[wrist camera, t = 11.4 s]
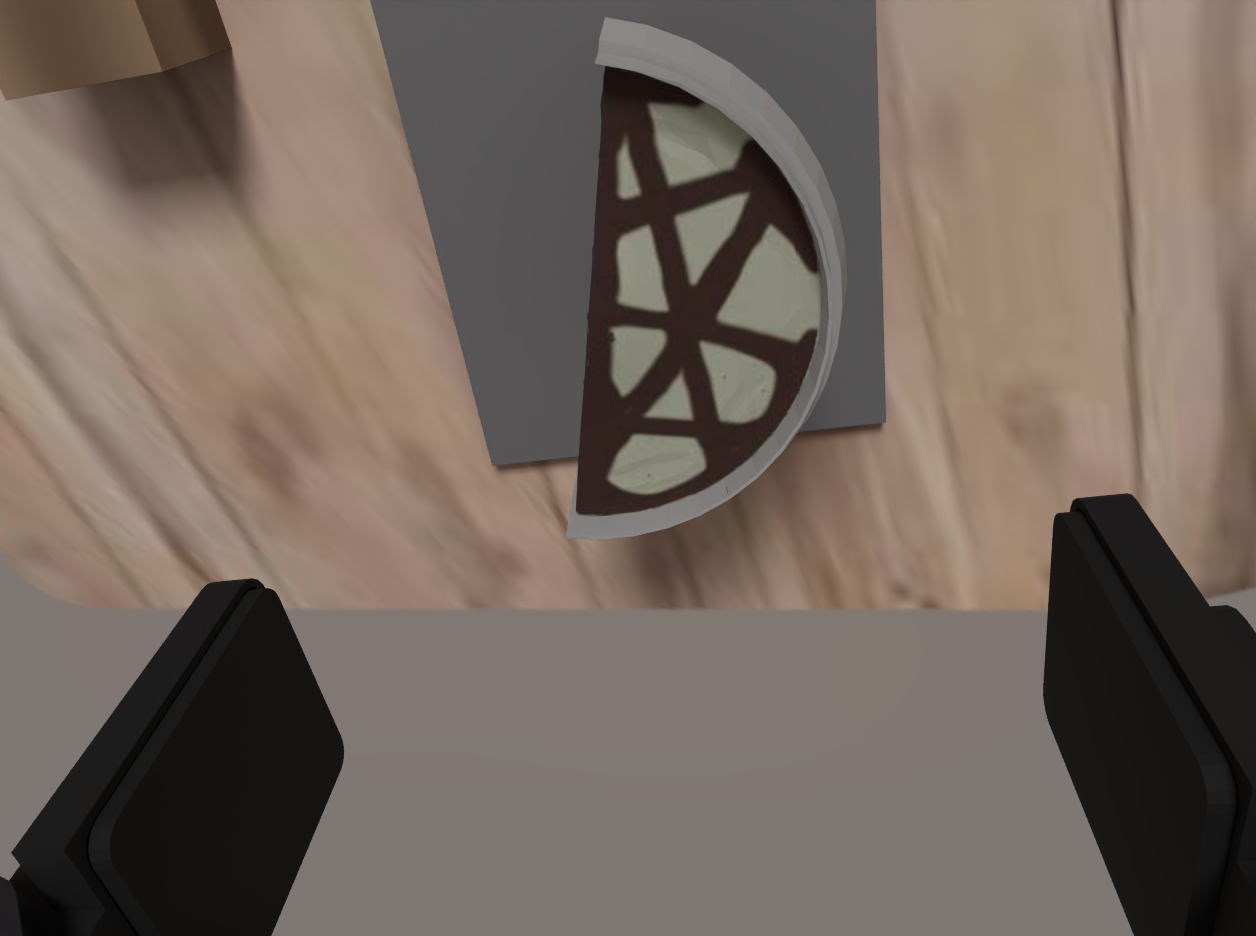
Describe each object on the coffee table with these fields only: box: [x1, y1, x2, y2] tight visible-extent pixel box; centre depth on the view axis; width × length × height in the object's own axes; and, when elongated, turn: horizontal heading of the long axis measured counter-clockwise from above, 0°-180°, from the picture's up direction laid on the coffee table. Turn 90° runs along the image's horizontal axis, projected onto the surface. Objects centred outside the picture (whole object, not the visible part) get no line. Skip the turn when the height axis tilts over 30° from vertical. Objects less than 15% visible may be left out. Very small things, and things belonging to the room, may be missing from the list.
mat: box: [370, 0, 886, 466], centre depth 30 cm, size 14×16×1 cm
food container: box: [566, 17, 847, 540], centre depth 26 cm, size 12×6×10 cm, turn 175°
